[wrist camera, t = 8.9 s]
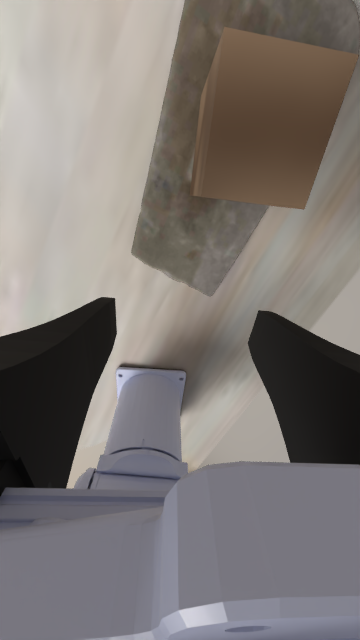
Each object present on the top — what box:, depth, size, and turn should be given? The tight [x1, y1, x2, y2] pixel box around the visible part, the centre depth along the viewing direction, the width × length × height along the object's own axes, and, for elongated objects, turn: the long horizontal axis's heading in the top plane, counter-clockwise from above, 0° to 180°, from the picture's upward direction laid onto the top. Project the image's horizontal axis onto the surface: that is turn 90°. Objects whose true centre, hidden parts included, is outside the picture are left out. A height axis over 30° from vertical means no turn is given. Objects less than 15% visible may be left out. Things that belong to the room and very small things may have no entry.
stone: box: [131, 0, 360, 296], centre depth 15 cm, size 18×3×10 cm
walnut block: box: [190, 27, 359, 209], centre depth 11 cm, size 5×5×6 cm
